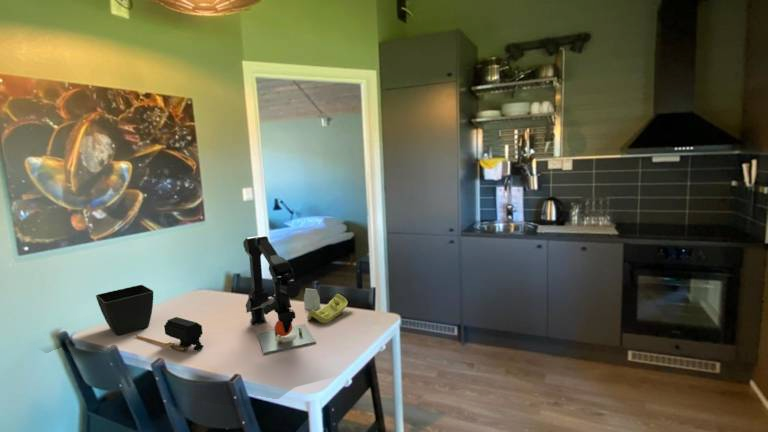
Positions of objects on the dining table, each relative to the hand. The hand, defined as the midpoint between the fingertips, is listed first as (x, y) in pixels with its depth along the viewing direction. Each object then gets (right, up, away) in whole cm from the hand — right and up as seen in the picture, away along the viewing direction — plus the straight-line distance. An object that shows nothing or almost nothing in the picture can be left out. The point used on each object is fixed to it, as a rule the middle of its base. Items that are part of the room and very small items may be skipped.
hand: (285, 329), depth 167 cm
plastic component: (+15, -1, +24) cm, 28 cm away
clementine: (0, -3, 0) cm, 3 cm away
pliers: (-20, 0, +43) cm, 48 cm away
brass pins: (+2, -3, +1) cm, 4 cm away
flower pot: (-76, -5, +21) cm, 79 cm away
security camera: (-39, -7, -1) cm, 40 cm away
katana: (-52, -7, +2) cm, 52 cm away
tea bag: (+5, 0, +34) cm, 35 cm away
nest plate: (0, -4, +1) cm, 4 cm away
